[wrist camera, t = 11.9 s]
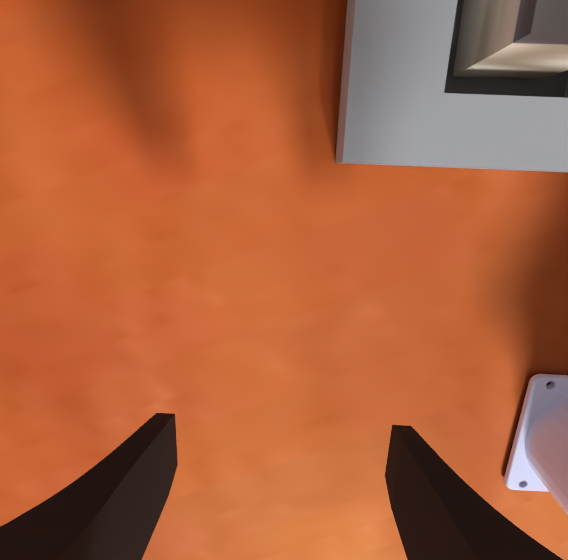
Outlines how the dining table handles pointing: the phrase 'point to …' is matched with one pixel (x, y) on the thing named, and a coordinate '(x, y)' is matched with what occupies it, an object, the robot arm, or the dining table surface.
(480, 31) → the peg
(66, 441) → the dining table surface
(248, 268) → the dining table surface
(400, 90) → the socket board
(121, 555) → the robot arm
